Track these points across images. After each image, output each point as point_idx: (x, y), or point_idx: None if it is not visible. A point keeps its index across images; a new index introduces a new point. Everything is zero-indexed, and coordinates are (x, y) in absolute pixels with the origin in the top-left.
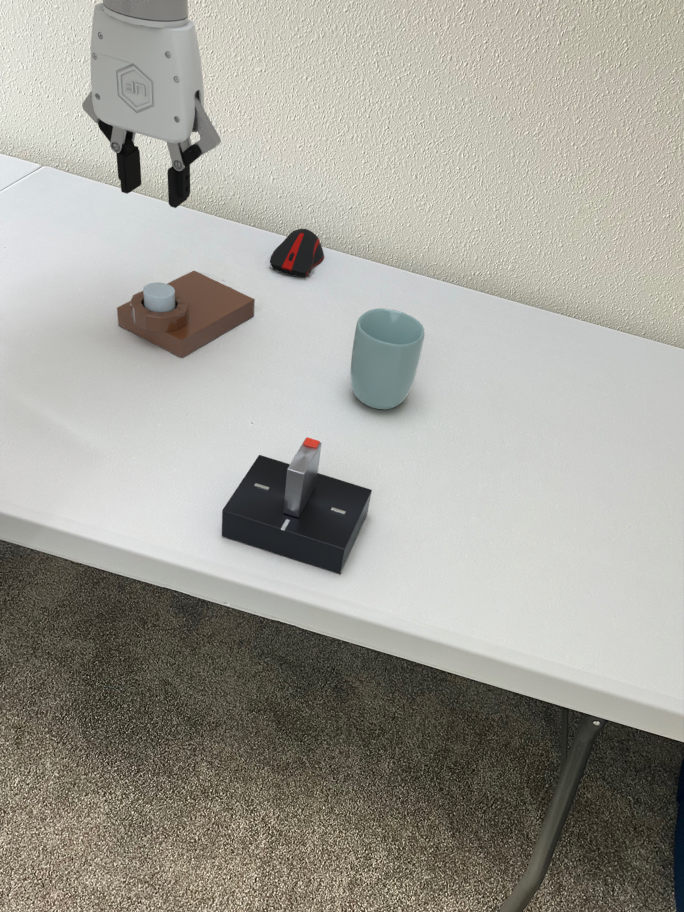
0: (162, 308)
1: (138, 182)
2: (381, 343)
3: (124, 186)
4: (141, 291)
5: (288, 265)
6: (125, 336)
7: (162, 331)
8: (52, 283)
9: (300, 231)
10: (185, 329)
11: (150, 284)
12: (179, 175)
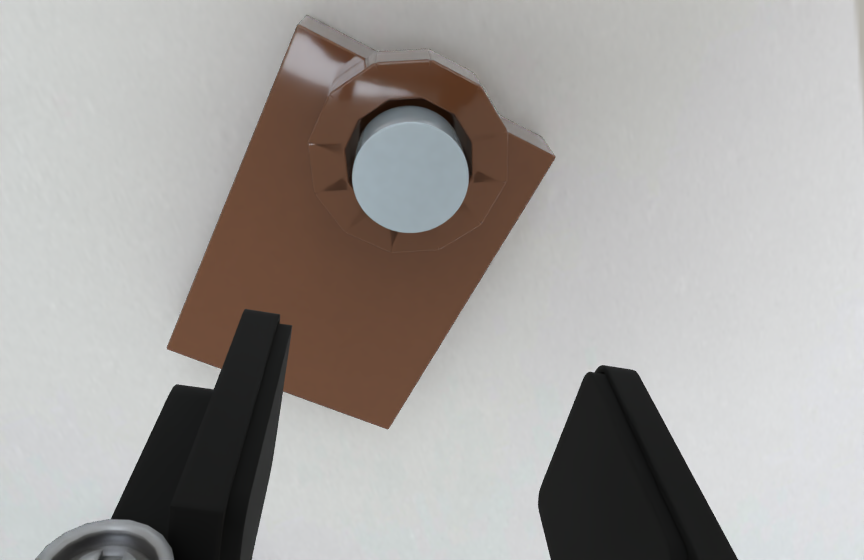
0: (384, 116)
1: (551, 492)
2: None
3: (621, 387)
4: (486, 210)
5: None
6: (509, 86)
7: (374, 53)
8: (759, 287)
9: None
10: (307, 99)
11: (450, 206)
12: (155, 507)
